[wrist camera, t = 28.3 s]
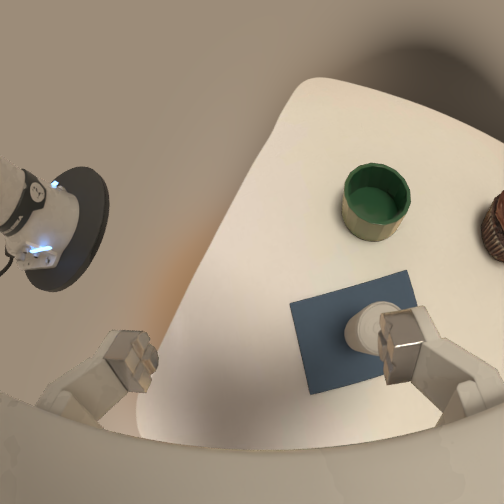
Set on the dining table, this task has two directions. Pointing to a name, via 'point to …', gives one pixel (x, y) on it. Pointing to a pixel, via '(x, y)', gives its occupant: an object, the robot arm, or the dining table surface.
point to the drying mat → (332, 331)
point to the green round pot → (374, 201)
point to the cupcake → (494, 228)
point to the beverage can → (367, 327)
